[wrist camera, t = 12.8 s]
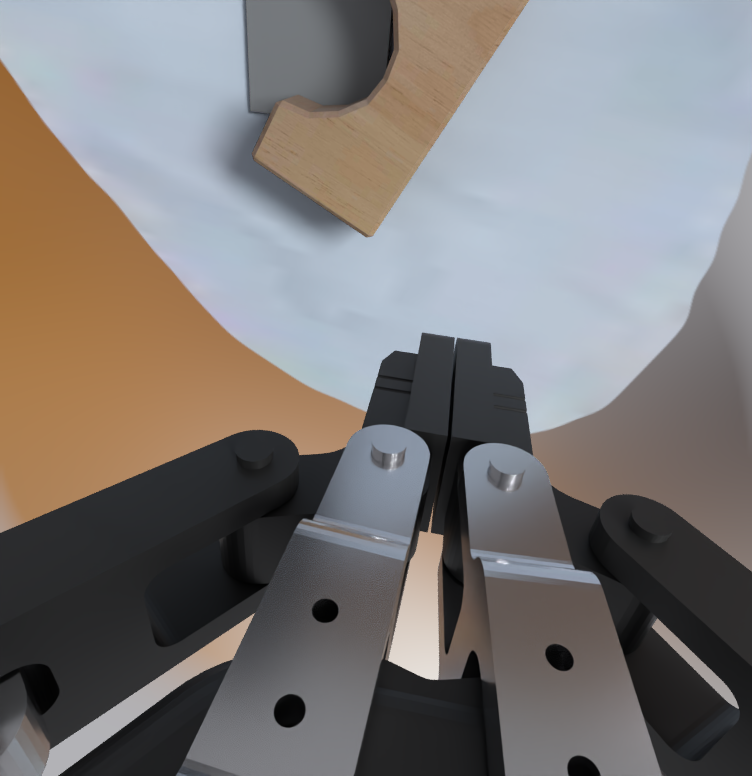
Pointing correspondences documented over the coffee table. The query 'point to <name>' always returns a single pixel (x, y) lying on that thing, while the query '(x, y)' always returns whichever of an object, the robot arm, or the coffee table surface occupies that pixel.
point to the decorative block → (386, 111)
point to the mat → (316, 50)
